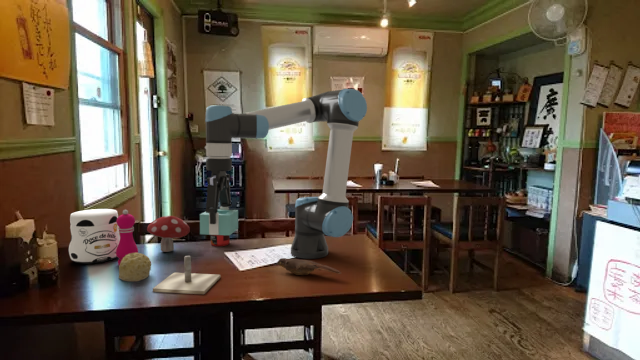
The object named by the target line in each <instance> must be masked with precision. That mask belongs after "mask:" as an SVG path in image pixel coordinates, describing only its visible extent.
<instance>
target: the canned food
mask: <svg viewBox="0 0 640 360" xmlns="http://www.w3.org/2000/svg"><path fill="white" fill-rule="evenodd" d="M230 236H231V235H210V245H211V246H212V247H225V246H226V247H227V246H228V245H230Z"/></svg>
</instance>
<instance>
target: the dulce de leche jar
mask: <svg viewBox="0 0 640 360" xmlns="http://www.w3.org/2000/svg"><path fill="white" fill-rule="evenodd" d="M118 217H119V214H118V210H117V209H113V208H95V209H92V208H91V209H84V210H79V211H75V212H72V213H70V216H69V222H70V223H69V224H70V227H69V229H70V241H69V245H68V255H69V258H70V260H71V261H72V262H74V263H77V264H85V265H89V264H99V263H105V262H109V261H112V260H115V259H116V258H118V257H117V256H116V249H117V247H118V244H119V241H120V232H118V231H119V229H118V228H119V226H118V225H117V223H116V222H117V218H118Z"/></svg>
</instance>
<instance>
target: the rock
mask: <svg viewBox="0 0 640 360" xmlns="http://www.w3.org/2000/svg"><path fill="white" fill-rule="evenodd" d="M151 261H152V260H151V259H150V258H149V256H147V255H145V254H144V253H139V252H138V253H131V254H128V255H126V256H125V257H124V258H123V259H122V261H121V263H120V265H118V279H120V280H121V281H123V282H139V281H143V280H145V279H147V278H148V277H150V272H151V269H152V263H151Z"/></svg>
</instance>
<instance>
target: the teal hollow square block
mask: <svg viewBox="0 0 640 360" xmlns="http://www.w3.org/2000/svg"><path fill="white" fill-rule="evenodd" d="M217 213H219V234H218V235H230V236H231V235H232V234H233V233H234V232H236V231H238V229H239V209H229V210H223V209H220V208H218V212H217ZM199 235H209V236H211V234H209V213H206V211H204V212H201V213H199Z"/></svg>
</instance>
